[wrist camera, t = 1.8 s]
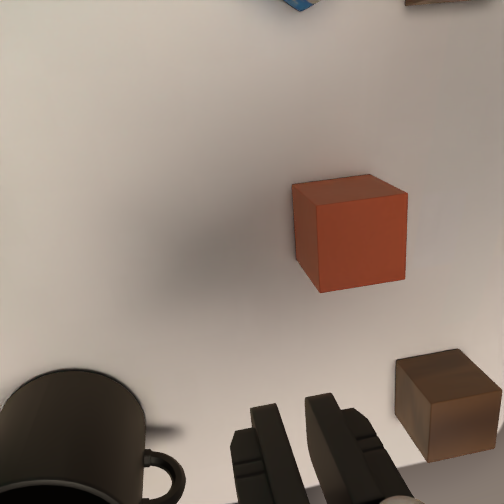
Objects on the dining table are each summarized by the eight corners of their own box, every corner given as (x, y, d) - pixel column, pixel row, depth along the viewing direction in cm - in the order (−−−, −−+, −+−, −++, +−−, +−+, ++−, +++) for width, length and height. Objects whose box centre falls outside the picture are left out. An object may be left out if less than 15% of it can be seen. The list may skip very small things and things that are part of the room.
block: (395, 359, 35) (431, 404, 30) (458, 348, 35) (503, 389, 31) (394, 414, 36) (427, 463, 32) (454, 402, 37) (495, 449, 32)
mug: (175, 479, 35) (179, 606, 27) (0, 482, 32) (-57, 623, 24) (190, 371, 32) (199, 477, 24) (-3, 365, 29) (-69, 481, 21)
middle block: (291, 184, 28) (315, 205, 24) (370, 173, 29) (408, 192, 24) (296, 260, 30) (319, 293, 26) (370, 248, 31) (405, 279, 26)
